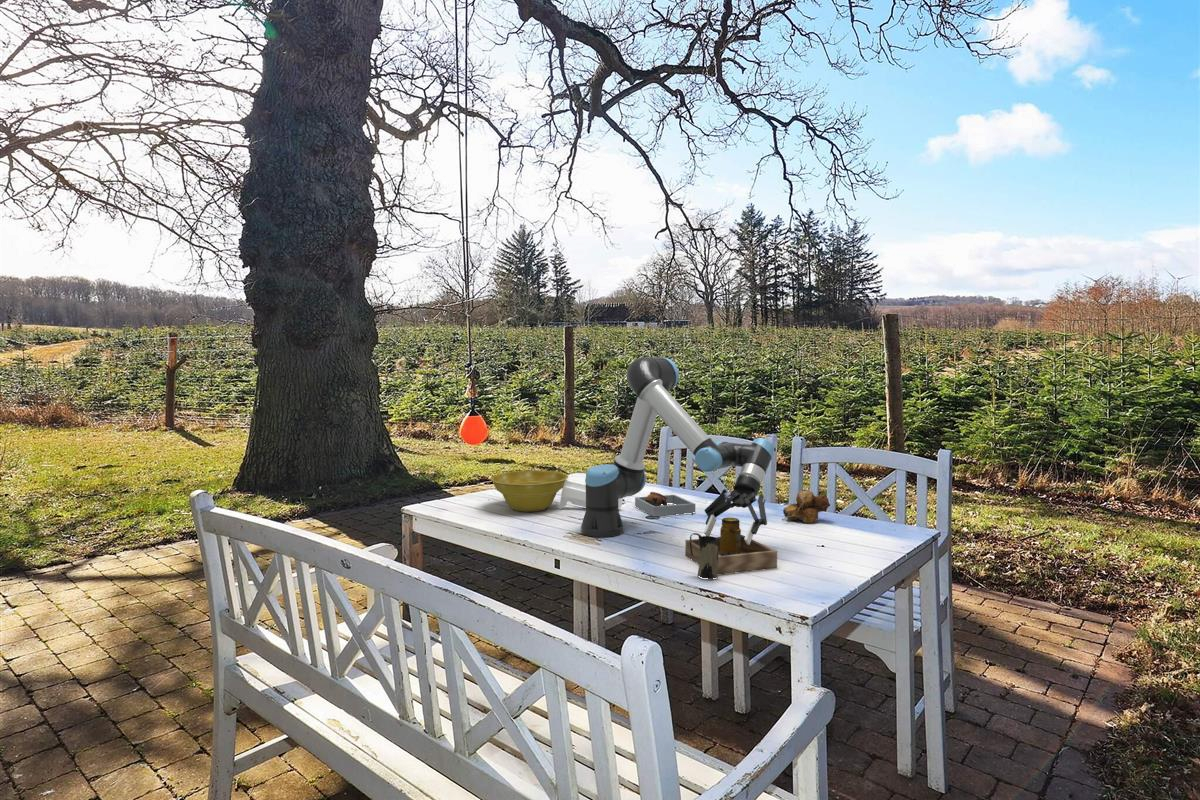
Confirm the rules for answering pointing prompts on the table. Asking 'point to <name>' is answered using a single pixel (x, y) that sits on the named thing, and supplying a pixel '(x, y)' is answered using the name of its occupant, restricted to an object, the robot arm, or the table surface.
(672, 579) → the table surface
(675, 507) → the slate tray rim
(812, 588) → the table surface
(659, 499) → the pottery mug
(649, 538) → the table surface
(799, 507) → the seed pod
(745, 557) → the walnut box
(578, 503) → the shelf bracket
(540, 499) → the planter bowl
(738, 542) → the condiment
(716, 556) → the mug
